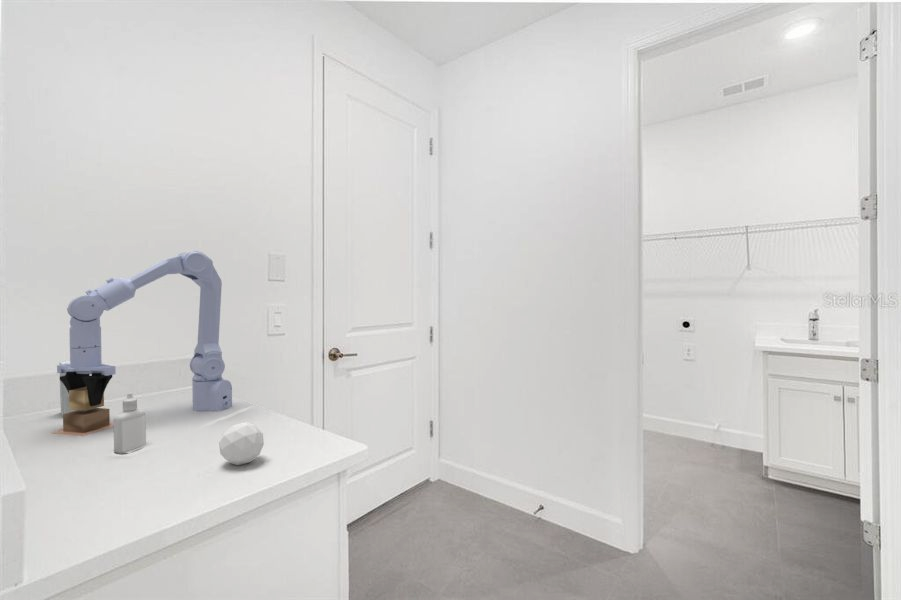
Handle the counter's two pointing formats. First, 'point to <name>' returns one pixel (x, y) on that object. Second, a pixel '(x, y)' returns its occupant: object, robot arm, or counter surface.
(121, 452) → the eye dropper bottle
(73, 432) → the grey square plate
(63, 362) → the skincare box
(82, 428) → the walnut base block
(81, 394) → the oak block
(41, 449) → the counter surface
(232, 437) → the ball
